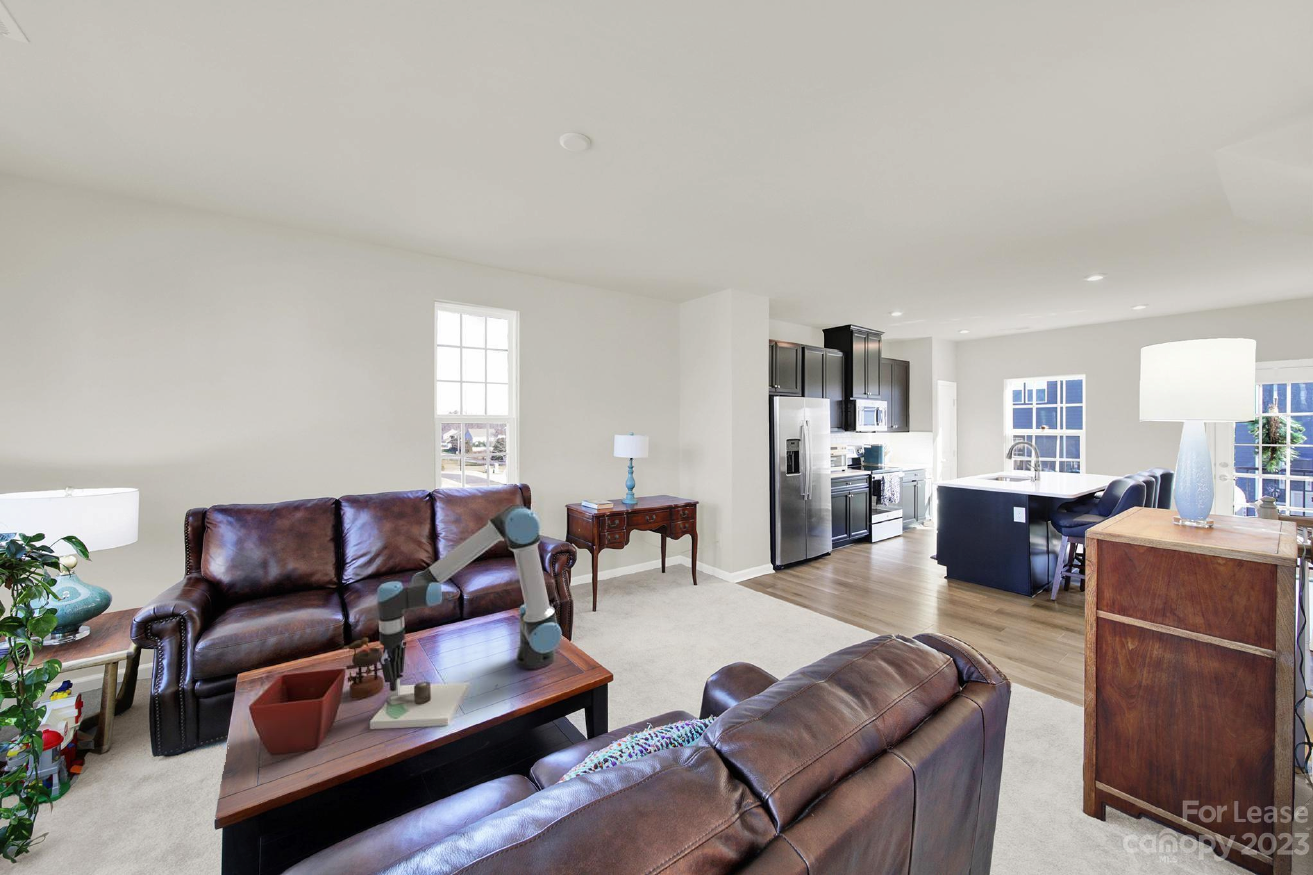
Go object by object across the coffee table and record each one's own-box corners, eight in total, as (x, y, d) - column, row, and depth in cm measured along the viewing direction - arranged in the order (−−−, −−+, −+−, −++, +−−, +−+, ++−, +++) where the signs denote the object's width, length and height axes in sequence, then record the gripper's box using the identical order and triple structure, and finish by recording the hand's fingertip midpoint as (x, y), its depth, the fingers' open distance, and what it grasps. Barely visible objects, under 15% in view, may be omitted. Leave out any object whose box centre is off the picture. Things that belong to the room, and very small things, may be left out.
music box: (346, 704, 177) (343, 645, 178) (343, 693, 186) (340, 637, 187) (395, 690, 186) (392, 634, 187) (390, 680, 195) (387, 626, 196)
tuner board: (469, 688, 186) (469, 681, 186) (447, 725, 164) (447, 717, 164) (400, 691, 185) (400, 684, 185) (370, 729, 163) (369, 720, 163)
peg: (432, 695, 178) (431, 679, 177) (429, 702, 173) (428, 686, 173) (388, 700, 174) (388, 685, 174) (384, 709, 170) (384, 692, 169)
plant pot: (324, 755, 151) (322, 698, 150) (249, 765, 147) (246, 707, 146) (349, 717, 170) (346, 667, 169) (283, 726, 166) (280, 674, 165)
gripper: (391, 621, 179) (395, 687, 181) (369, 638, 166) (373, 709, 168) (412, 621, 179) (416, 687, 180) (392, 638, 166) (396, 709, 167)
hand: (395, 698), depth 174 cm, fingers closed
